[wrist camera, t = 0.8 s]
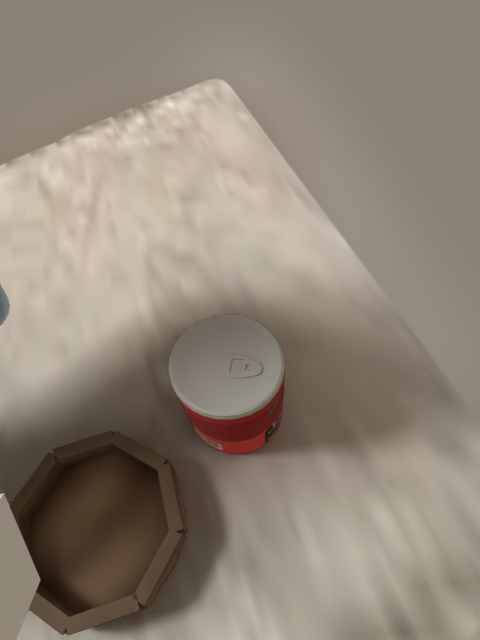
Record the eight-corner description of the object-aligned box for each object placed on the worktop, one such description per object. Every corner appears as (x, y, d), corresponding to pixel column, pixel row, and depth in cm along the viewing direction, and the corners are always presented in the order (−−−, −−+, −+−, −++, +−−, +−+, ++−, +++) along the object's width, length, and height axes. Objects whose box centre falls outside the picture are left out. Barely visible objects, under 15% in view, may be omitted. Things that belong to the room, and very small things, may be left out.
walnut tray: (-9, 563, 34) (-32, 562, 31) (92, 420, 39) (79, 409, 37) (123, 662, 30) (109, 671, 28) (214, 490, 36) (209, 483, 33)
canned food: (287, 451, 37) (293, 409, 27) (194, 461, 37) (167, 423, 27) (276, 369, 41) (277, 307, 31) (191, 378, 41) (166, 319, 31)
